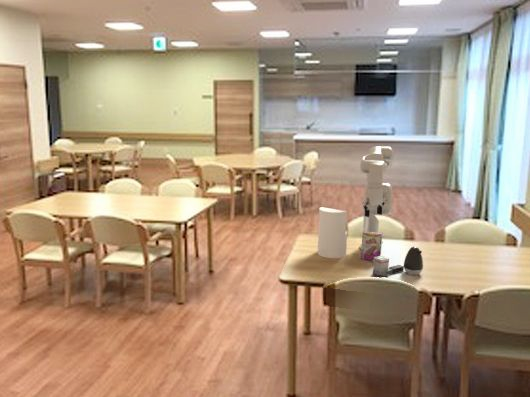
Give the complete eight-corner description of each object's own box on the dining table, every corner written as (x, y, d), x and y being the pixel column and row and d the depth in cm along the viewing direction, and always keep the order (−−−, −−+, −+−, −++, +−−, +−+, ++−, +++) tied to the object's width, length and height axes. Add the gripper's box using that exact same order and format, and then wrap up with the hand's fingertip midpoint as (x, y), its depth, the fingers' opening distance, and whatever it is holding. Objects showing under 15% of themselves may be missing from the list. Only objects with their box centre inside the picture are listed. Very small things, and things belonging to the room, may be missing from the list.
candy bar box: (360, 259, 297) (362, 232, 293) (361, 256, 301) (363, 230, 298) (379, 261, 293) (381, 234, 290) (380, 259, 298) (382, 232, 294)
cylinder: (337, 260, 294) (339, 214, 289) (312, 254, 305) (313, 209, 299) (351, 253, 308) (353, 208, 302) (326, 247, 318) (328, 204, 312)
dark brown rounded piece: (411, 277, 268) (413, 250, 265) (399, 271, 278) (401, 245, 275) (426, 275, 272) (429, 248, 269) (413, 269, 282) (416, 243, 279)
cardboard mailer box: (380, 267, 274) (381, 255, 273) (388, 270, 270) (389, 258, 268) (372, 269, 271) (373, 257, 270) (380, 272, 267) (381, 260, 265)
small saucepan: (395, 267, 283) (396, 256, 282) (406, 272, 277) (407, 260, 275) (369, 274, 272) (370, 262, 271) (380, 279, 266) (381, 266, 264)
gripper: (381, 182, 283) (379, 211, 287) (358, 185, 274) (357, 215, 277) (391, 184, 277) (389, 214, 281) (368, 188, 268) (366, 219, 271)
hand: (373, 215), depth 279 cm, fingers open, 9 cm apart
